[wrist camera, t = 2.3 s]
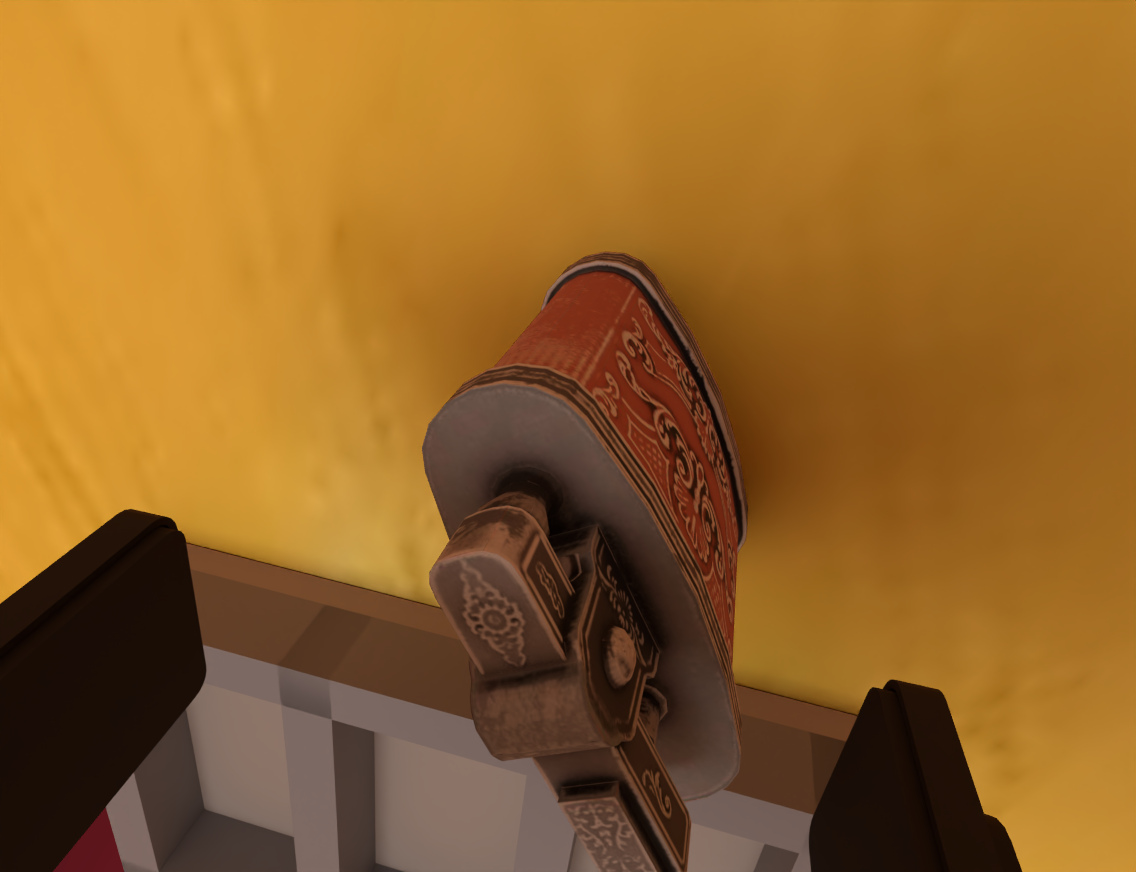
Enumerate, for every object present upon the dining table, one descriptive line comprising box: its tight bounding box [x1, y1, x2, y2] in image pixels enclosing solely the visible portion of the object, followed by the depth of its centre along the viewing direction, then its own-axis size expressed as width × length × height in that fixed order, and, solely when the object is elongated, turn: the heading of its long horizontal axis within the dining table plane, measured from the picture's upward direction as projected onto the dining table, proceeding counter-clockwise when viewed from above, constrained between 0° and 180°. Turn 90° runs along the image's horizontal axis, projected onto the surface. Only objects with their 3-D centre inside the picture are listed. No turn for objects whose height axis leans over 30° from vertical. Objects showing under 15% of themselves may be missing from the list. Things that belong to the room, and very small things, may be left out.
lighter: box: [422, 252, 748, 872], centre depth 13 cm, size 8×3×10 cm, turn 25°
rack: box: [106, 543, 857, 872], centre depth 24 cm, size 22×14×4 cm, turn 83°
